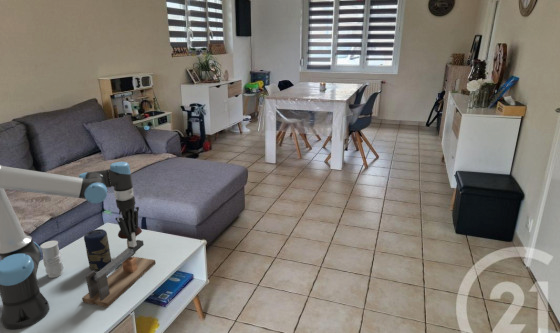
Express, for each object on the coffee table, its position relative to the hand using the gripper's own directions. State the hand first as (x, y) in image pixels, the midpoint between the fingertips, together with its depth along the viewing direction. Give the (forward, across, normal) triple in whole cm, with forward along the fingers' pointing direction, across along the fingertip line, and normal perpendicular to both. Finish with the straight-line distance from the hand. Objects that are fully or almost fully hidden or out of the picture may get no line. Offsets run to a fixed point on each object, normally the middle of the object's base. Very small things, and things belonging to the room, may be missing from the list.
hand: (132, 245), depth 165 cm
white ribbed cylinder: (+12, -13, +33) cm, 38 cm away
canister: (+12, -2, +18) cm, 22 cm away
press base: (+12, -10, 0) cm, 15 cm away
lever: (+3, -9, 0) cm, 9 cm away
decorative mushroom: (+12, +12, +11) cm, 21 cm away
